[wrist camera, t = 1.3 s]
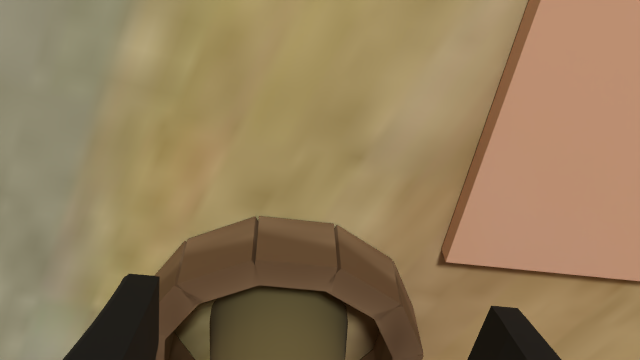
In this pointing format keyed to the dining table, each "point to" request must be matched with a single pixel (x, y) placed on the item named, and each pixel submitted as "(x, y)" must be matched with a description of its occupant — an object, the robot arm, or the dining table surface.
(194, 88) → the dining table surface
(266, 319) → the cork
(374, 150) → the dining table surface
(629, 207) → the coaster
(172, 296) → the holder ring
